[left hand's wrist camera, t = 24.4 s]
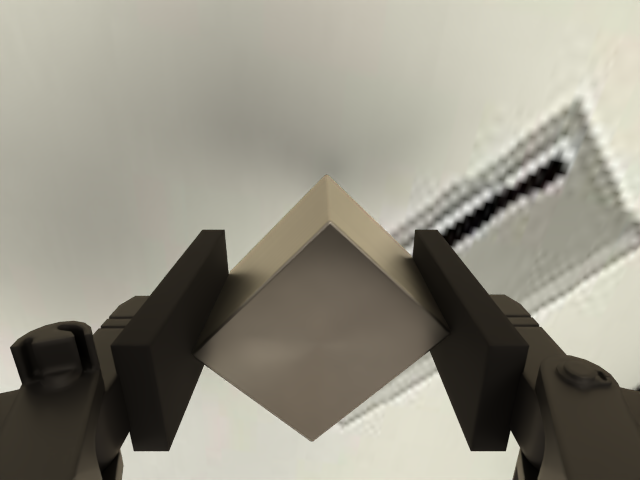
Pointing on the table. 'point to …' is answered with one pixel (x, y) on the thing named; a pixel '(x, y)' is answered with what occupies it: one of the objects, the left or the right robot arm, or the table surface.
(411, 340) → the beige metallic cube
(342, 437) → the table surface
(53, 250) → the table surface
